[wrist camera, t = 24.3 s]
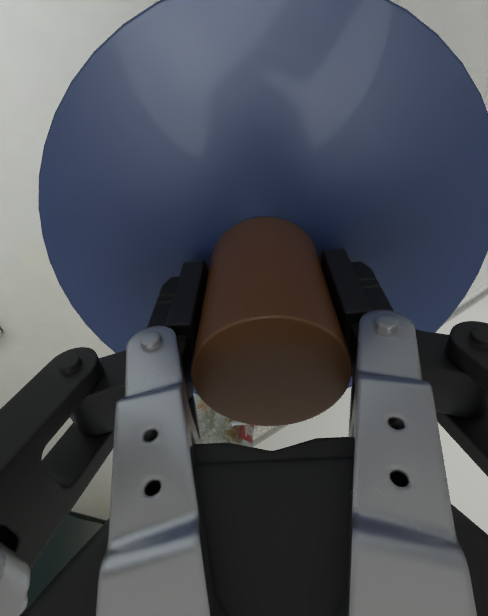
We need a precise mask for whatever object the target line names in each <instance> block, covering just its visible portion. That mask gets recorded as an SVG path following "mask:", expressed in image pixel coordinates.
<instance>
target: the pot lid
mask: <svg viewBox="0 0 488 616" xmlns="http://www.w3.org/2000/svg"><path fill="white" fill-rule="evenodd" d="M39 213H40V220H41V228H42V235H43V239H44V242H45V246H46V249H47V253H48V257H49V260H50V263H51V265H52V267H53V270H54V272H55V274H56V277H57V279H58V282H59V284H60V286H61V287H62V289H63V291H64V293H65V294H66V296H67V298H68V299H69V301H70V303H71V305H72V306H73V307H74V309H75V310H76V311H77V313H78V314H79V315H80V317H81V318H82V319H83V321H84V322H85V323H86V325H87V326H88V327H89V328H90V329H91V330H92V331H93V332H94V333H95V334H96V335H97V336H98V337H99V338H100V340H101V341H102V342H104V343H105V344H106V345H107V346H108V347H109V348H111V349H112V350H113V351H114V352H115V353H119V352H122V351H124V350H126V347H127V344H128V342H129V340H130V339H131V338H132V336H134V335H135V334H136V333H138V332H139V331H141V330H143V329H146V328H147V326H148V323H149V320H150V317H151V315H152V312H153V309H154V307H155V304H156V301H157V298H158V297H159V293H160V290H161V287H162V285H163V284H164V283H165V282H166V281H167V280H168V279H169V278H170V277H177V276H180V273H181V270H182V267H183V264H184V262H190V261H202V260H205V261H206V263H207V267H208V272H209V273H208V278H207V283H206V289H205V294H204V300H203V305H202V310H201V316H200V321H199V326H198V332H197V337H196V343H195V348H194V353H193V359H192V364H191V378H192V383H193V385H194V390H193V393H194V394H198V395H199V397H200V398H201V399H202V400H203V402H204V403H205V404H207V405H208V406H209V407H210V408H211V409H213V410H214V411H215V412H217V413H219V414H221V415H222V416H225V417H227V418H229V419H232V420H235V421H238V422H241V423H245V424H251V425H258V426H280V425H288V424H293V423H297V422H301V421H304V420H307V419H310V418H312V417H315V416H317V415H319V414H320V413H322V412H324V411H326V410H327V409H329V408H330V407H331V406H333V405H334V404H335V403H336V402H337V401H338V400H339V399H340V398H341V396H342V395H343V394H344V392H345V391H346V389H347V388H348V387H351V386H352V377H351V374H352V362H351V357H350V354H349V350H348V347H347V344H346V341H345V338H344V335H343V332H342V328H341V325H340V322H339V319H338V316H337V313H336V310H335V306H334V303H333V300H332V297H331V294H330V291H329V288H328V284H327V281H326V278H325V275H324V272H323V269H322V266H321V253H322V250H331V249H343V248H344V249H345V251H346V253H347V255H348V257H349V259H350V261H351V262H359V261H361V262H363V263H364V264H365V265H367V266H368V267H370V268H371V269H372V271H373V273H374V274H375V276H376V280H378V282H379V284H380V287H381V288H382V289H383V291H384V293H385V295H386V297H387V299H388V301H389V303H390V304H391V306H392V308H393V310H394V311H395V312H398V313H400V314H403V315H404V316H406V317H408V318H409V319H410V320H411V321H412V322H413V324H414V327H415V329H417V330H421V331H425V332H431V333H435V332H436V331H437V330H438V329H439V328H440V327H441V326H442V325H443V324H444V322H445V321H446V320H447V319H448V318H449V317H450V316H451V315H452V313H453V312H454V310H455V309H456V308H457V306H458V305H459V304H460V302H461V301H462V300H463V298H464V297H465V295H466V294H467V292H468V290H469V289H470V287H471V285H472V283H473V282H474V280H475V278H476V276H477V275H478V273H479V270H480V268H481V266H482V263H483V261H484V258H485V256H486V254H487V251H488V112H487V110H486V107H485V104H484V102H483V99H482V96H481V94H480V92H479V90H478V89H477V87H476V85H475V84H474V82H473V80H472V79H471V77H470V75H469V74H468V72H467V70H466V68H465V67H464V65H463V63H462V62H461V61H460V60H459V59H458V57H457V56H456V55H455V54H454V53H453V52H452V51H451V49H450V48H449V47H448V46H447V45H446V44H445V42H444V41H443V40H442V39H441V38H440V37H439V36H438V34H436V33H435V32H434V31H433V30H431V29H430V28H429V27H428V26H426V25H425V24H424V23H423V22H421V21H420V20H419V19H418V18H416V17H415V16H414V15H413V14H411V13H410V12H409V11H408V10H406V9H405V8H403V7H401V6H399V5H397V4H395V3H393V2H392V1H390V0H160V1H158V2H156V3H155V4H153V5H152V6H150V7H149V8H147V9H146V10H144V11H142V12H141V13H139V14H138V15H136V16H135V17H133V18H132V19H130V20H129V21H127V22H126V23H124V24H123V25H122V26H121V27H120V28H119V29H118V30H117V31H115V32H114V33H113V34H112V35H111V36H110V37H109V38H108V39H107V40H106V41H105V42H104V43H103V44H102V45H101V46H100V47H98V48H97V49H96V50H95V51H94V52H93V54H92V55H91V56H90V58H89V59H88V60H87V62H86V63H85V64H84V66H83V67H82V68H81V70H80V71H79V72H78V74H77V75H76V76H75V78H74V79H73V80H72V82H71V83H70V85H69V87H68V89H67V91H66V93H65V95H64V97H63V99H62V101H61V102H60V104H59V106H58V108H57V110H56V112H55V114H54V117H53V120H52V123H51V126H50V129H49V132H48V135H47V138H46V141H45V144H44V150H43V156H42V162H41V168H40V174H39Z"/></svg>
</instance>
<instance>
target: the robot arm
mask: <svg viewBox="0 0 488 616" xmlns="http://www.w3.org/2000/svg"><path fill="white" fill-rule="evenodd" d="M321 266H322V269H323V272H324V275H325V278H326V281H327V284H328V288H329V291H330V294H331V297H332V300H333V303H334V306H335V310H336V313H337V316H338V319H339V322H340V325H341V328H342V332H343V335H344V338H345V341H346V344H347V347H348V350H349V354H350V357H351V362H352V374H351V377H352V389H351V403H350V420H349V436H348V437H340V438H339V437H337V438H317V439H313V440H309V441H306V442H303V443H299V444H296V445H293V446H289V447H286V448H282V449H279V450H275V451H268V450H263V449H257V448H253V447H248V446H243V445H238V444H233V443H208V444H202V438H201V432H200V427H199V421H198V415H197V410H196V404H195V399H194V395H193V390H194V385H193V383H192V378H191V364H192V359H193V353H194V348H195V343H196V337H197V332H198V326H199V321H200V316H201V310H202V305H203V300H204V294H205V289H206V283H207V278H208V273H209V272H208V267H207V263H206V261H205V260H202V261H190V262H184V264H183V267H182V270H181V273H180V276H177V277H170V278H169V279H168V280H167V281H166V282H165V283H164V284H163V285H162V287H161V290H160V293H159V297H158V298H157V301H156V304H155V307H154V309H153V312H152V315H151V317H150V320H149V323H148V326H147V328H146V329H143V330H141V331H139V332H138V333H136V334H135V335H134V336H132V338H131V339H130V340H129V342H128V344H127V347H126V350H124V351H122V352H119V353H116V354H112V355H109V356H106V357H102V358H98V356H97V354H96V352H95V351H94V350H92V349H90V348H85V347H80V348H74V349H71V350H68V351H65V352H63V353H61V354H60V355H58V356H57V357H55V358H54V359H53V360H51V361H50V362H49V363H48V364H47V365H46V366H45V367H44V368H43V369H42V370H41V371H40V372H39V373H38V374H37V375H36V376H35V377H34V378H33V379H32V380H31V381H30V382H28V383H27V384H26V385H25V386H24V387H23V388H22V389H21V390H20V391H19V392H18V393H17V394H16V395H15V396H14V397H13V398H12V399H11V400H10V401H9V402H8V403H7V404H6V405H5V406H3V407H2V408H1V409H0V616H488V535H487V534H486V533H485V532H484V531H483V530H481V529H480V528H479V527H478V526H477V525H475V524H474V523H473V522H472V521H471V520H470V519H468V518H467V517H466V516H465V515H464V514H463V513H461V512H460V511H459V510H458V509H457V508H455V507H454V506H453V505H452V504H451V502H450V496H449V490H448V485H447V478H446V472H445V466H444V459H443V453H442V447H441V442H440V435H439V430H438V423H439V424H440V425H441V426H442V427H443V428H444V429H445V430H446V431H447V432H448V434H449V435H450V436H451V437H452V438H453V439H454V440H455V441H456V442H457V443H458V444H459V446H461V448H462V449H463V450H464V451H465V452H466V453H467V454H468V455H469V456H470V457H471V459H472V460H473V461H474V462H475V463H476V464H477V465H478V466H479V467H480V468H481V470H482V471H483V472H484V473H485V474H486V475H487V476H488V324H487V323H483V322H476V321H468V322H462V323H459V324H457V325H455V326H454V327H453V328H452V330H451V332H450V335H445V334H438V333H431V332H425V331H421V330H417V329H415V327H414V324H413V322H412V321H411V320H410V319H409V318H408V317H406V316H404V315H403V314H400V313H398V312H395V311H394V310H393V308H392V306H391V304H390V303H389V301H388V299H387V297H386V295H385V293H384V291H383V289H382V288H381V287H380V284H379V282H378V280H376V276H375V274H374V273H373V271H372V269H371V268H370V267H368V266H367V265H365V264H364V263H363V262H361V261H359V262H351V261H350V259H349V257H348V255H347V253H346V251H345V249H344V248H343V249H331V250H322V253H321ZM69 417H70V418H71V419H72V421H73V424H72V425H71V426H70V427H69V429H68V430H67V431H66V432H65V433H64V435H63V436H62V437H61V438H60V439H59V441H58V442H57V443H56V444H55V446H54V447H53V448H52V449H51V450H50V452H49V453H48V454H47V455H46V456H45V458H44V459H43V460H42V461H41V457H42V453H43V450H44V448H45V446H46V445H47V443H48V442H49V441H50V440H51V438H52V437H53V436H54V435H55V434H56V433H57V431H58V430H59V429H60V428H61V427H62V425H63V424H64V423H65V422H66V421H67V420H68V418H69ZM437 422H438V423H437ZM112 449H113V465H112V483H111V502H110V518H109V519H108V520H107V521H106V522H105V523H104V525H103V526H102V527H101V528H100V529H99V530H98V531H97V532H96V533H95V534H94V535H93V536H92V538H91V539H90V540H89V541H88V542H87V543H86V544H85V545H84V546H83V547H82V548H81V549H80V551H79V552H78V553H77V554H76V555H75V556H74V557H73V558H72V559H71V560H70V561H69V562H68V563H67V564H66V566H65V567H64V568H63V569H62V570H61V571H60V572H59V573H58V574H57V575H56V576H55V577H54V579H53V580H52V581H51V582H50V583H49V584H48V585H47V586H46V587H45V588H44V590H42V591H41V593H40V594H39V595H38V596H37V597H36V598H35V599H34V600H33V601H32V602H31V603H30V604H29V605H28V607H27V608H26V606H27V602H28V597H27V591H28V588H29V583H30V569H31V568H32V566H33V565H34V563H35V562H36V561H37V559H38V558H39V556H40V555H41V553H42V552H43V550H44V549H45V547H46V546H47V544H48V543H49V541H50V540H51V539H52V537H53V536H54V534H55V533H56V531H57V530H58V528H59V527H60V525H61V524H62V522H63V521H64V519H65V518H66V517H67V515H68V514H69V512H70V511H71V509H72V508H73V506H74V505H75V503H76V502H77V500H78V499H79V497H80V496H81V495H82V493H83V492H84V490H85V489H86V487H87V486H88V484H89V483H90V481H91V480H92V478H93V477H94V475H95V474H96V473H97V471H98V470H99V468H100V467H101V465H102V464H103V462H104V461H105V459H106V458H107V456H108V455H109V453H110V452H111V451H112Z"/></svg>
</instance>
